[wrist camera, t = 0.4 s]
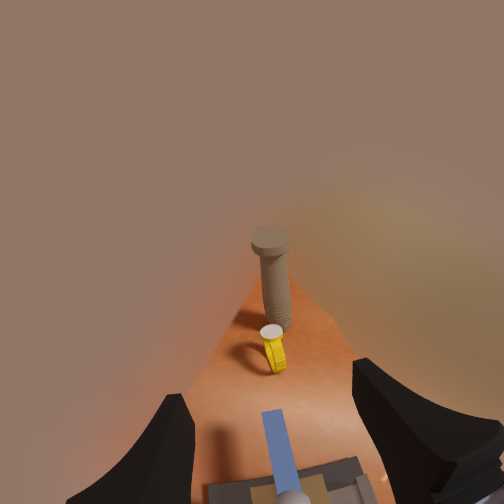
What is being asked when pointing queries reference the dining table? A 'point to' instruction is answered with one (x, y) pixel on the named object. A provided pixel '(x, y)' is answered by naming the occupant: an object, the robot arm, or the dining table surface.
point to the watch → (274, 347)
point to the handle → (274, 272)
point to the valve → (303, 486)
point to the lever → (282, 460)
